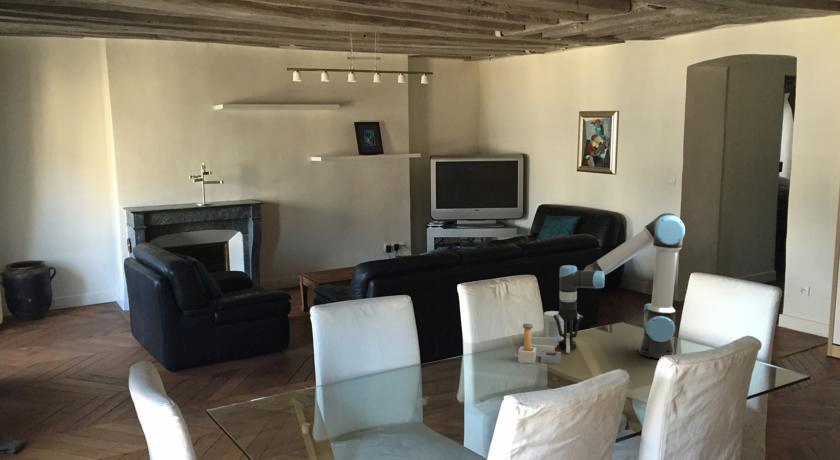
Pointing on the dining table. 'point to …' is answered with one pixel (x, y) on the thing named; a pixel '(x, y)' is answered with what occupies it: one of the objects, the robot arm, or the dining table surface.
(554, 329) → the supplement tub
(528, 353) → the socket block
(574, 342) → the tape measure
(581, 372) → the dining table surface
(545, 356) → the pin mount
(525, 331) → the lock pin
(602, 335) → the dining table surface
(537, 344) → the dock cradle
